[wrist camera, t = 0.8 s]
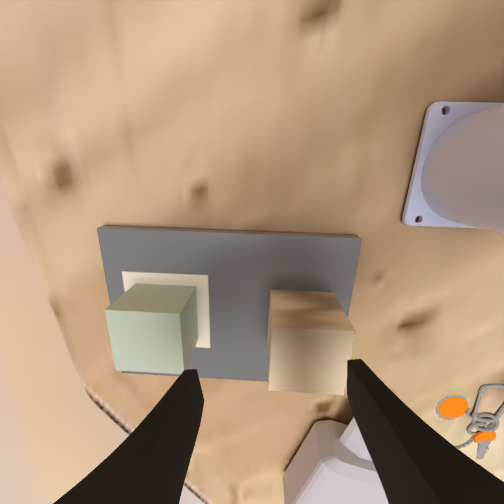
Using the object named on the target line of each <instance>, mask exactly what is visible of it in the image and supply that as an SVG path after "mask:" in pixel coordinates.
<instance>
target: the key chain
mask: <svg viewBox="0 0 504 504" xmlns="http://www.w3.org/2000/svg"><path fill="white" fill-rule="evenodd" d="M488 388H503V389H504V385H502V384H487V385H483V386H481V387H480V389H479V391H478V392H479V395H478V398H477V402H476V405H475V408H474V412H472V417H471V416H470V415H469V410H470V409H471V408H469V409H468V402H467V401H466V397H463V396H459V395H453V396H448V397H446V398H444V399H442V400H441V401H440V402H439V403H438V404H437V407H436V413H437V415H438V416H439V417H441V418H443V419H448V420H453V419H455V418H456V417H459V416H461V415H463V414H464V413H465V412H466V411H467V415H468V416H469V417H470V418H472V421H471V425H470V426H469V427H468V428H467V432H468V433H469V434H471V435H473V437H471V438H470V440H468V441H467V442H465V443H463V444H461V445H459V446H454V447H456V448H457V449H460V448H462V447H465V446H466V445H469V444H470V443H472V442H473V440H474V442H475V443H476V442H477V443H478V444H479V445H478V450H477V457H476V459H482V458H484V455H485V453H486V452H487V451H486V450H488V449H489V448H488V445H489V444H490V442H491V441H492V440H494V439H495V438H496V433H495V432H493V431H494V430H496V429H497V428H498V427H499V420H498V419H499V418H500V417H501V415H502V414H503V412H504V403H503V405H502V406H501V408H500V409H499V411H498V412H497V413H496V415H495V416H494V415H492V414H488V413H480V414H478V412H477V410H478V406H479V402H480V399H481V395H482V393H484V391H485V389H488ZM481 417H490V418H491V419H488V418H481ZM475 421H480V422H475ZM484 422H489V423H494V422H495V424H494V425H493V426H491V427H489V428H487V425H486V423H484ZM479 425H484V428H481V427H478V426H479ZM473 428H476V429H477V430H479V432H471V430H472V429H473Z"/></svg>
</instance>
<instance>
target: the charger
mask: <svg viewBox="0 0 504 504" xmlns="http://www.w3.org/2000/svg"><path fill="white" fill-rule="evenodd" d="M283 485H284V501H285V504H389V503H388V500H387V497H386V494H385V491H384V489H383V486H382V484H381V481H380V478H379V476H378V474H377V471H376V469H375V466H374V464H373V462H372V459H371V457H370V454H369V452H368V450H367V447H366V445H365V442H364V440H363V438H362V435H361V433H360V430H359V428H358V425H357V423H356V421H355V418H354V417H353V419H352V420H351V422H350V423H349V425H347V424H343V423H340V422H337V421H333V420H323V421H317V422H315V423H314V425H313V427H312V428H311V430H310V432H309V433H308V435H307V437H306V438H305V440H304V442H303V443H302V445H301V447H300V448H299V450H298V452H297V453H296V455H295V457H294V458H293V460H292V462H291V463H290V465H289V467H288V468H287V470H286V472H285V473H284V475H283Z"/></svg>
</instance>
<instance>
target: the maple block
mask: <svg viewBox="0 0 504 504" xmlns="http://www.w3.org/2000/svg"><path fill="white" fill-rule="evenodd" d="M355 334H356V331H355V329H354V327H353V326H352V324H351V322H350V321H349V319H348V317H347V315H346V314H345V312H344V310H343V309H342V307H341V305H340V303H339V302H338V300H337V298H336V297H335V295H334V293H333V292H317V291H296V290H275V289H270V301H269V318H268V335H267V356H268V390H270V391H287V392H303V393H319V394H335V395H344V390H345V385H346V380H347V360H350V359H351V354H352V349H353V344H354V339H355Z"/></svg>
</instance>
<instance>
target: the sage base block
mask: <svg viewBox="0 0 504 504" xmlns="http://www.w3.org/2000/svg"><path fill="white" fill-rule="evenodd" d="M105 315H106V320H107V325H108V331H109V336H110V342H111V347H112V352H113V358H114V363H115V368H116V370H119V371H135V372H152V373H169V374H181V373H182V372H183V371H184V370H186V369H187V366H188V364H189V361H190V358H191V356H192V353H193V351H194V348H195V346H196V343H197V341H198V338H199V337H198V316H197V295H196V286H179V285H158V284H136V283H135V284H134V285H133V286H132V287H131V288H130V289H128V290H127V291H126V292H125V293H124V294H123V295H121V296H120V297H119V298H118V299H117V300H116V301H114V302H113V303H112V304H111V305H110V306H109V307H107V308H106V309H105Z"/></svg>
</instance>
